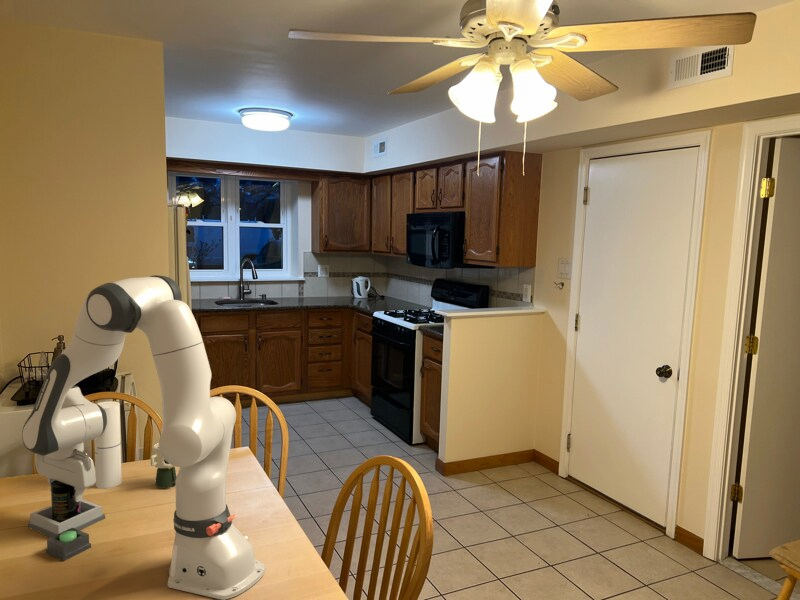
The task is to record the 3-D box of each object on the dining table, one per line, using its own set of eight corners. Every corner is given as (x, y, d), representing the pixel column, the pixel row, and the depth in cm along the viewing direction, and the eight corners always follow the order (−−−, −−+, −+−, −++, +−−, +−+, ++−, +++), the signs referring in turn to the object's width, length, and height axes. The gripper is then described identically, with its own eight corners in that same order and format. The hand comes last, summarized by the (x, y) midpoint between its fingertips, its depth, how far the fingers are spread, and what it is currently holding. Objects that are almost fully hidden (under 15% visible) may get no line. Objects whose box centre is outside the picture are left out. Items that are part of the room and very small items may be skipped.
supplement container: (80, 522, 151) (79, 484, 150) (50, 527, 148) (49, 489, 147) (81, 511, 157) (80, 474, 156) (53, 515, 154) (51, 478, 153)
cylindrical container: (110, 489, 172) (108, 409, 169) (90, 486, 174) (87, 407, 171) (126, 479, 179) (124, 402, 176) (106, 477, 181) (104, 400, 178)
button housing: (91, 547, 141) (90, 534, 141) (63, 561, 135) (62, 547, 134) (73, 539, 144) (72, 526, 144) (45, 553, 138) (44, 539, 138)
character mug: (159, 494, 170) (159, 452, 168) (143, 489, 173) (142, 448, 172) (188, 481, 180) (188, 441, 178) (172, 476, 183) (171, 437, 181)
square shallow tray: (105, 518, 155) (104, 506, 155) (58, 540, 144) (57, 527, 143) (75, 506, 161) (74, 494, 161) (27, 526, 150) (26, 514, 149)
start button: (80, 542, 140) (79, 533, 140) (65, 549, 137) (65, 539, 137) (70, 538, 142) (70, 529, 141) (56, 545, 139) (56, 535, 138)
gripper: (101, 450, 148) (103, 500, 150) (53, 435, 157) (55, 483, 159) (78, 458, 143) (80, 510, 144) (29, 442, 152) (31, 492, 153)
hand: (66, 496), depth 152 cm, fingers open, 8 cm apart
